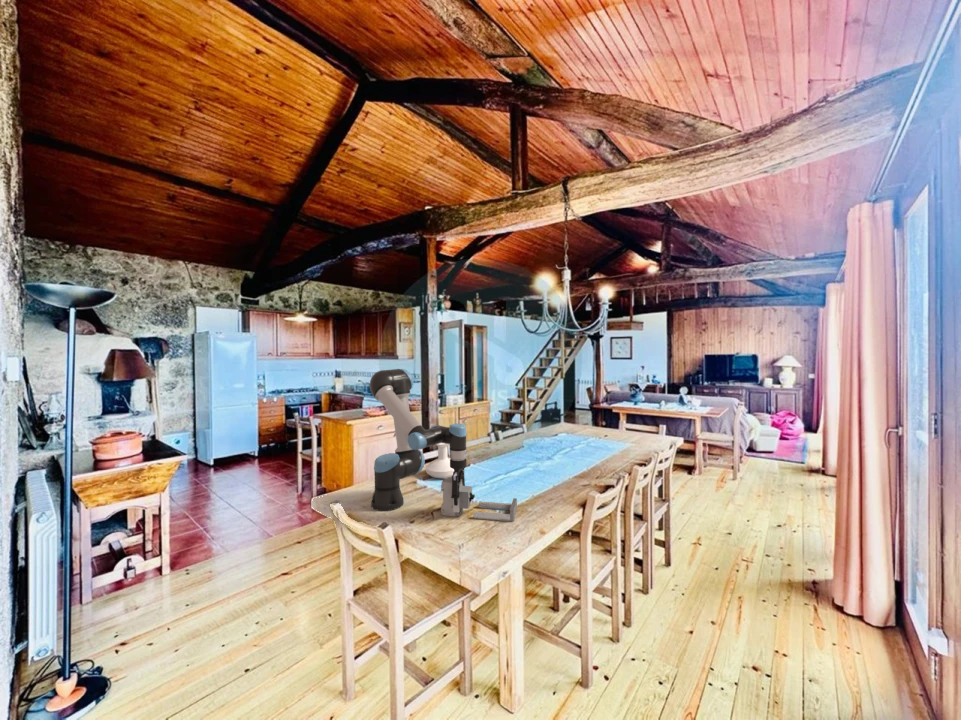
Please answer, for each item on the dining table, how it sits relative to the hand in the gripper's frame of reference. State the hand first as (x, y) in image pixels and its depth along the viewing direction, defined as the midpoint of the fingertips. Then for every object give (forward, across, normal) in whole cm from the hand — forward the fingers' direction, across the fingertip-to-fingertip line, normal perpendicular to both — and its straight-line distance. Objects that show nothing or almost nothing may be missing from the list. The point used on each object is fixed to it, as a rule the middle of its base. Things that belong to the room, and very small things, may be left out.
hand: (458, 508), depth 185 cm
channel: (+2, +2, -16) cm, 16 cm away
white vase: (+2, +49, +22) cm, 54 cm away
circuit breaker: (+2, 0, 0) cm, 2 cm away
